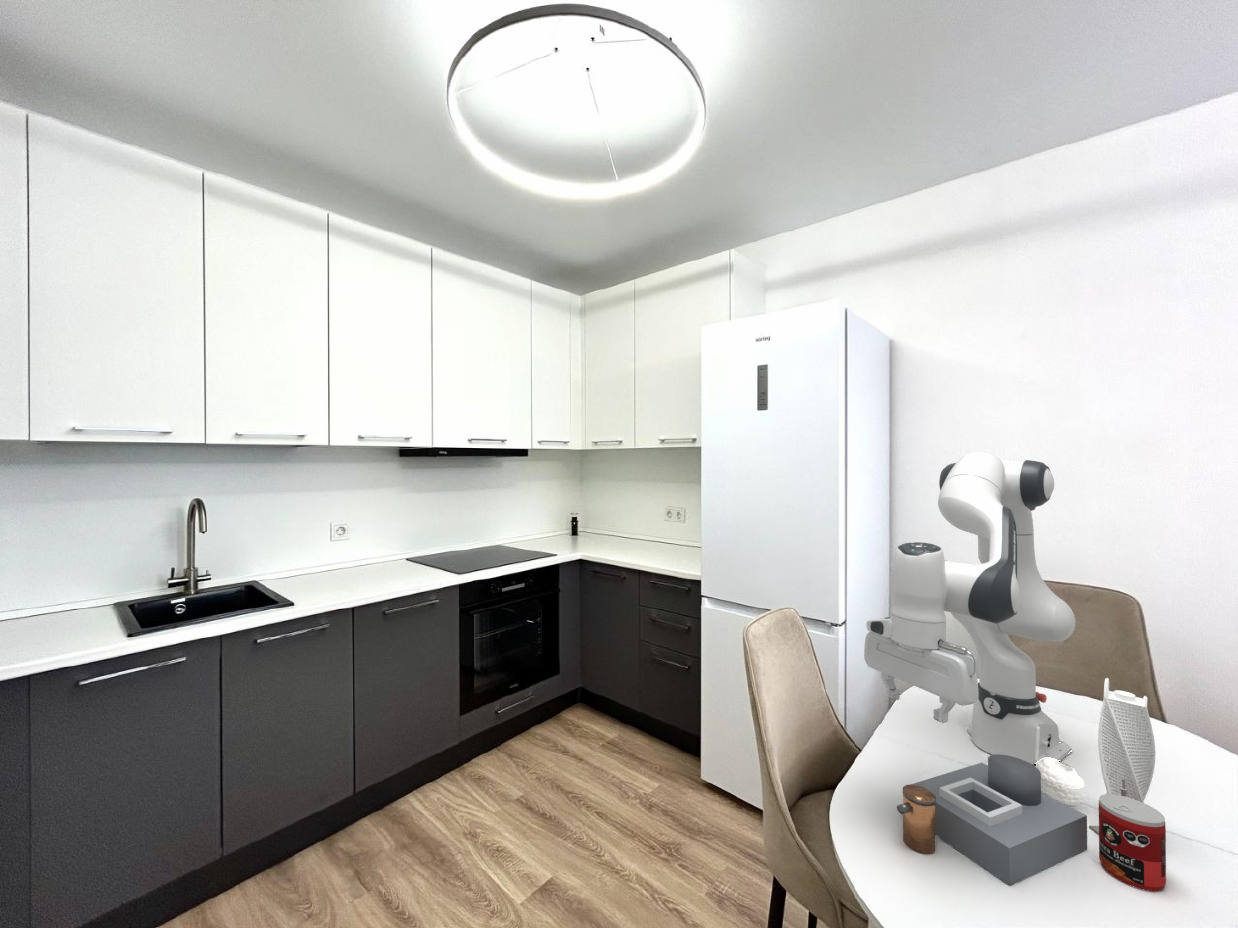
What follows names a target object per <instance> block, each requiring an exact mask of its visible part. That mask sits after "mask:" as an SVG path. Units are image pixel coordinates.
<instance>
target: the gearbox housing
mask: <svg viewBox="0 0 1238 928" xmlns="http://www.w3.org/2000/svg"><path fill="white" fill-rule="evenodd" d="M909 785H918V786H921V787H924V788H926V789H928V790H930V791H931V792H932V793H933V794H934V795H935V796H936V804H935V837H936V838H937V837H938V838H939V839H940V840H941V841H943V842H944V843H946V844H947V845H949V846H950V847H952V848H953V849H955V850H956V851H958V852H959V853H960V854H962V855H964V857H966V858H968V859H970V861H972V862H974V863H976V864H977V865H978V866H980V867H981V868H982V869H984V870H986V871H987V872H989V874H991V875H993V876H995V877H996V878H997V879H999V880H1000V881H1001V882H1003V883H1005V885H1008V886H1009V887H1011V886H1012V885H1015V884H1017V883H1019V882H1021V881H1024V880H1025V879H1028V878H1030V877H1032V876H1035V875H1036V874H1038V873H1040V872H1043V871H1045V870H1048V869H1049V868H1051V867H1053V866H1056V865H1058V864H1061V863H1062V862H1064V861H1066V860H1068V859H1070V858H1072V857H1075V856H1077V855H1079V854H1081V853H1084V852H1085V851H1088V815H1087V814H1085V813H1083V812H1081V811H1079V810H1077V809H1075V808H1073V807H1071V806H1069V805H1068V804H1065V803H1063V802H1061V801H1059V800H1057V799H1055V798H1053V797H1051V796H1049V795H1047V794H1046V793H1044V792H1042V772H1041V771H1040V769H1039V768H1038V767H1036V765H1033V764H1030V763H1028V762H1026V761H1024V760H1022V759H1019V758H1016V757H1012V756H1008V755H1000V754H995V755H992V754H990V755H989V756H988V757H987V764H986V763H985V762H979V763H975V764H972V765H969V766H966V767H962V768H959V769H956V770H953V771H950V772H946V773H943V774H940V775H936V776H934V777H930V778H927V779H924V780H920V781H917V782H915V783H911V784H910V783H909Z"/></svg>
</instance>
